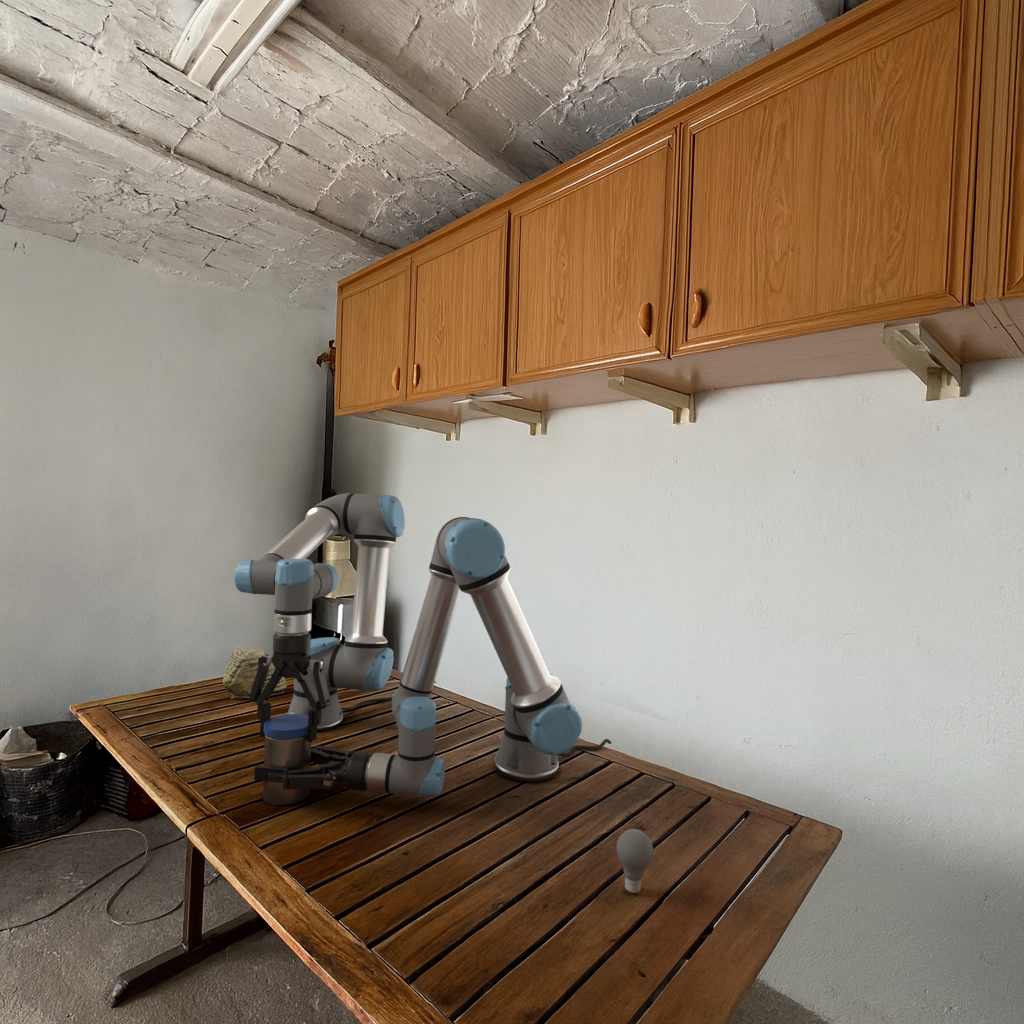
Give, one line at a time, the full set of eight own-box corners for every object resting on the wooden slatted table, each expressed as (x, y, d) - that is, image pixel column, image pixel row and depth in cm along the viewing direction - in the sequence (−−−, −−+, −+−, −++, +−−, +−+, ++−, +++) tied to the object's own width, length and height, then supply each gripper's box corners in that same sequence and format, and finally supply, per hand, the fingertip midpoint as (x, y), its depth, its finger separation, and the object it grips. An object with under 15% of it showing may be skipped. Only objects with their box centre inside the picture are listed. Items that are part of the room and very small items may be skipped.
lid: (308, 738, 130) (308, 730, 129) (257, 738, 128) (258, 730, 128) (317, 721, 139) (317, 713, 139) (270, 721, 138) (270, 713, 138)
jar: (259, 806, 128) (262, 734, 128) (266, 786, 138) (268, 718, 137) (307, 803, 131) (309, 732, 130) (311, 783, 140) (313, 716, 139)
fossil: (218, 695, 195) (220, 647, 195) (278, 685, 208) (279, 640, 207) (228, 703, 189) (230, 653, 188) (289, 692, 201) (290, 645, 201)
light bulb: (610, 879, 108) (613, 822, 108) (644, 879, 109) (647, 822, 109) (619, 902, 102) (622, 840, 102) (655, 901, 103) (658, 840, 103)
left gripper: (232, 632, 131) (228, 738, 132) (335, 640, 128) (330, 749, 128) (252, 625, 139) (249, 726, 139) (350, 633, 135) (346, 736, 136)
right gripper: (350, 815, 121) (239, 805, 123) (384, 767, 143) (289, 759, 145) (352, 776, 121) (240, 766, 123) (386, 734, 143) (290, 727, 145)
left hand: (288, 737), depth 134 cm, fingers closed on lid, 10 cm apart
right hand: (267, 762), depth 134 cm, fingers closed on jar, 9 cm apart
